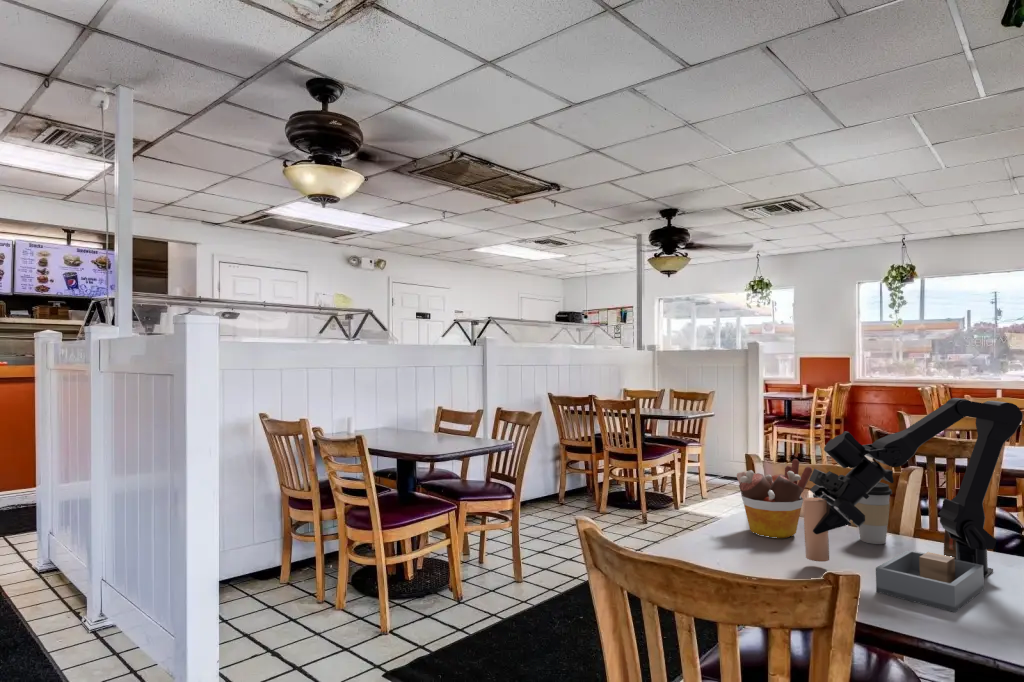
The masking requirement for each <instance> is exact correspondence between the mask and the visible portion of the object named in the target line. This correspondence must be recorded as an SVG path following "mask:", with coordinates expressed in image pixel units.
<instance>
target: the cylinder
mask: <svg viewBox="0 0 1024 682" xmlns="http://www.w3.org/2000/svg"><path fill="white" fill-rule="evenodd" d="M802 507H803V508H802V509H803V527H804V547H805V558H806V559H807V560H809V561H813V562H828V561H830V543H829V542H830V541H829V531H826V532H823V533H820V534H815V533H814V532H813V529H814V528H815V526H816V525H817V524H818V523H819V521H820V520H821V519H822V517H823V516H824V515H825V514H826V512H827V500H825V499H822V498H814V497H813V496H812V497H805V498H803V503H802Z"/></svg>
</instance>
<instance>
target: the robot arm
mask: <svg viewBox="0 0 1024 682" xmlns="http://www.w3.org/2000/svg"><path fill="white" fill-rule="evenodd" d="M966 417H968V418H974V419H975V427H976V433H977V437H976V441H975V443H974V447H973V450H972V452H971V455H970V456H969V457H970V458H969V461H968V464H967V466H966V470H965V472H964V476H963V478H962V480H961V483H960V487H959V489H958V493H957V494H956V495H955V496H954V497H953V498H952V499H948V498H944V499H943V501H942V506H941V509H940V511H939V512H938V513H937V514H938V515H939V523H940V525H941V526H942V528H943V529H944V531H945V530H946V531H947V532H948V534H949V536H950V538H952V539H954V540H956V557H955V558H956V559H955V560H960V561H965V562H970V563H975V564H980V565H983V574H984V578H986V577H988V576H989V575H990V574H991V573H993V572H994V568H991V567H988V564H989V563H988V550H994V549H995V547H996V544H997V539H996V538H994V536H992V535H991V533H989V532H988V531H987V530H986V529H984V528H985V527H984V526H985V521H986V515H985V510H984V500H985V497H986V494H987V492H988V488H989V486H990V483H991V480H992V478H993V475H994V471H995V470H996V466H997V463H998V461H999V458H1000V455H1001V452H1002V449H1003V446H1004V444H1005V443H1006V442H1007V441H1008V440H1009V439H1010V438H1011V437H1012V436H1013V435H1014V434H1016V432H1017V430H1018V428H1019V427H1020V425H1021V423H1022V421H1023V417H1024V414H1023V412H1022V410H1021V408H1019V407H1018V405H1017V404H1014V403H1012V402H1007V401H1006V402H1005V401H997V400H986V401H984V402H978V401H972V400H969V399H966V398H959V397H952V398H950V399H948V400H947V401H946V402H945V403H944V404H942V405H941V406H940V407H938V408H936V409H935V410H933V411H931V412H930V413H929V414H926V415H925V416H923V418H921V419H919V420H918V421H915V422H914V423H912V425H910V426H908V427H906V429H903V430H901V431H898V432H895V433H890V434H887V435H886V436H883V437H881V438H878V439H876V440H875V441H873V443H867V444H861V443H860V442H859V441H858V440H856V439H855V437H854V436H853V435H852V434H851V433H850V432H849V431H845V430H844V431H843V432H842V433H841V434H839V435H836V436H835V437H833V438H831V439H830V440H828V441H827V443H826V444H825V445H824V448H823V451H824V452H825V453H826V455H828V456H829V457H830V458H831V459H832V460H834V461H835V462H836V463H838V465H839V466H840V467H842V468H843V469H846V468H847V469H848V468H849V469H850V471H848V473H846V474H845V475H843V474H839V475H838V474H837V473H834V472H832V471H828V472H824V471H822V470H819V469H816V468H814V469H812V473H811V475H810V477H809V480H808V481H809V482H812V483H813V484H814V485H813V486H812V487H811V488H809V490H810V492H811V493H812V497H813V498H822V499H825V500H827V512H826V514H825V515H824V516H823V517H822V519H821V520H820V521H819V523H818V524H817V525H816V526H815V528H814V529H813V532H814V533H815V534H820V533H823V532H826V531H828V532H829V531H832V530H835V529H838V528H842V527H845V526H851V525H852V523H853V524H854V525H855V526H857V527H858V528H859V527H860V526H861V525H862V524H863V523H864V522H865V515H864V514H863V513H862V512H861V511H860V510H859V509H858V508H856V507H855V505H856V504H857V503H858V502H859V501H860V500H861V499H862V498H864V499H867V498H868V497H869V495H867V493H868V492H869V491H870V490H871V489H872V488H873V487H874V486H876V485H877V484H878V483H879V482H881V480H884V481H886V482H888V483H890V484H894V477H893V473H894V472H893V470H891V469H887V468H886V469H885V468H884V467H883V466H882V465H881V464H883V465H885V466H886V465H887V467H892V468H898V467H901V466H904V465H905V464H906V463H907V462H908V461H910V459H911V458H913V456H915V454H916V453H917V451H918V449H919V448H920V447H921V446H922V445H924V444H925V443H926V442H928V441H929V440H931V439H932V438H934V437H936V436H937V435H938V434H940V433H942V432H944V431H945V430H947V429H948V428H950V427H952V426H953V425H955V424H957V423H958V422H959V421H961V420H963V419H964V418H966ZM866 456H867V457H866ZM868 457H869V458H872V459H874V460H875V461H874V460H873V461H871V460H870V459H869V458H868ZM880 463H881V464H880ZM851 522H852V523H851Z"/></svg>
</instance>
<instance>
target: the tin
mask: <svg viewBox="0 0 1024 682" xmlns="http://www.w3.org/2000/svg"><path fill="white" fill-rule="evenodd" d="M943 536H944V537H943V555H946V556H952V557H955V558H956V540H954V539H952V538H950V536H949V534H948V532H947V531H946V530H945V529H944V534H943Z"/></svg>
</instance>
